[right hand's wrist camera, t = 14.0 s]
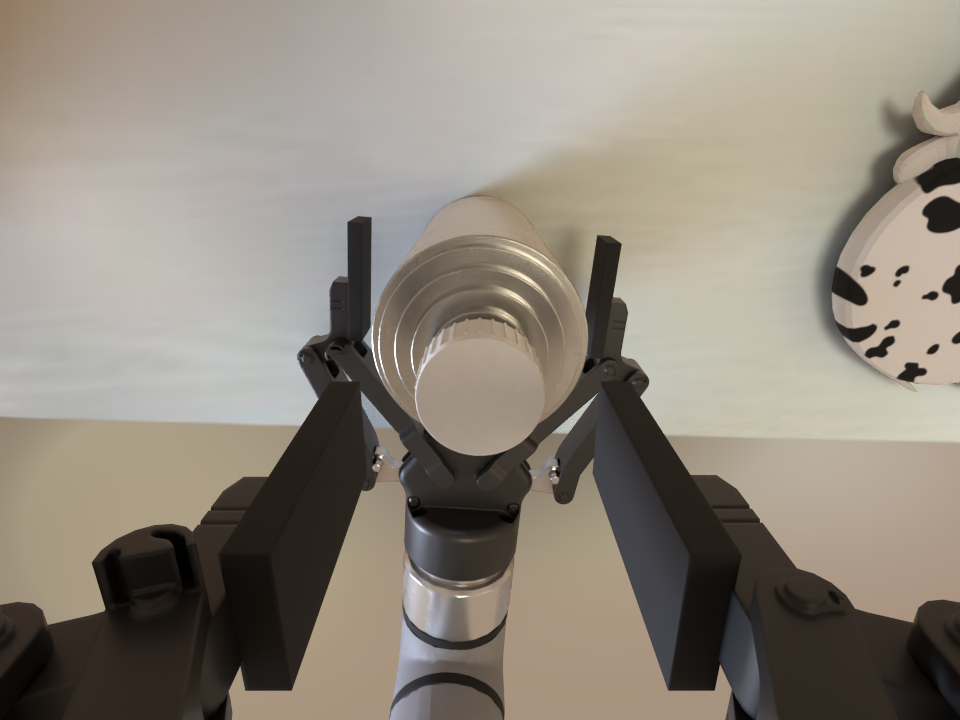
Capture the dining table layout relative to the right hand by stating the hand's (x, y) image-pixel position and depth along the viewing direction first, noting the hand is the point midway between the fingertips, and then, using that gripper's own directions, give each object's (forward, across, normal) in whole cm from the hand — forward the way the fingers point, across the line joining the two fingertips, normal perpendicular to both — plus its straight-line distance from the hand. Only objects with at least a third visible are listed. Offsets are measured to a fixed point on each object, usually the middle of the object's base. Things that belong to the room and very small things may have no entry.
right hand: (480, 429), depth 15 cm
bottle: (+25, 0, 0) cm, 25 cm away
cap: (+2, 0, 0) cm, 2 cm away
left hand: (+18, 0, -3) cm, 18 cm away
